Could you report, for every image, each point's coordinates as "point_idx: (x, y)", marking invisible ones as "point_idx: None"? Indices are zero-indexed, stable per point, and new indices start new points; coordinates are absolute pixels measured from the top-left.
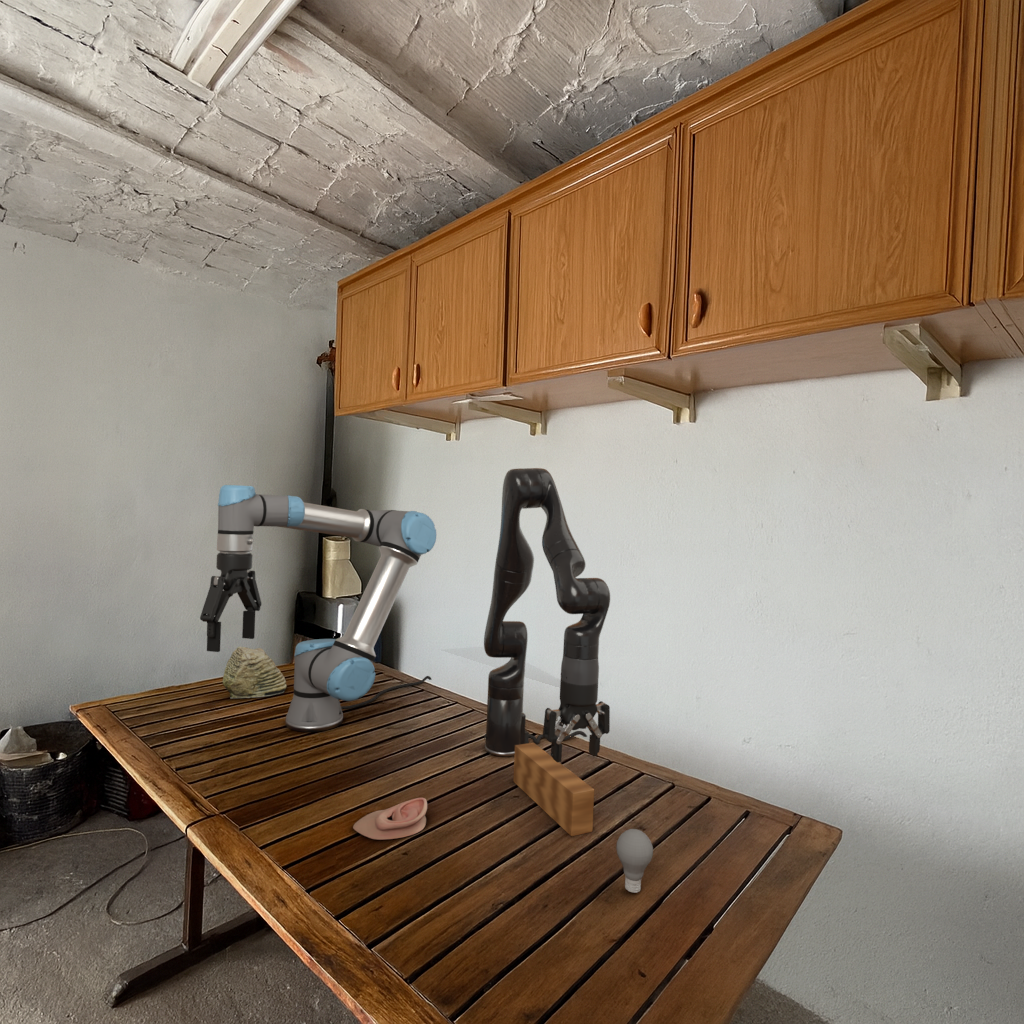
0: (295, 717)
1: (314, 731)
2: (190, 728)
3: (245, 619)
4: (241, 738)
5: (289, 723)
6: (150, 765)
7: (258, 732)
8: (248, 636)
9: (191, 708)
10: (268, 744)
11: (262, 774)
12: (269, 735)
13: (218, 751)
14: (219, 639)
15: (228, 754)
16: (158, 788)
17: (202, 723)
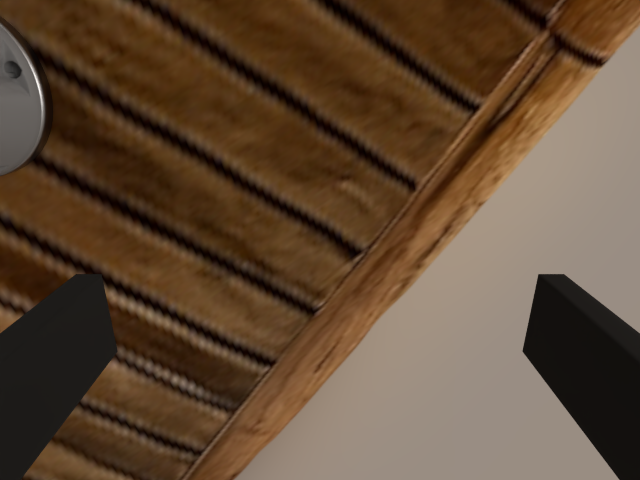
0: (22, 120)
1: (32, 50)
2: (153, 359)
3: (12, 456)
4: (157, 223)
5: (39, 139)
6: (351, 312)
7: (106, 205)
8: (98, 316)
9: None
10: (164, 136)
11: (337, 45)
12: (110, 167)
13: (245, 228)
14: (610, 324)
15: (253, 197)
16: (447, 231)
17: (116, 354)
